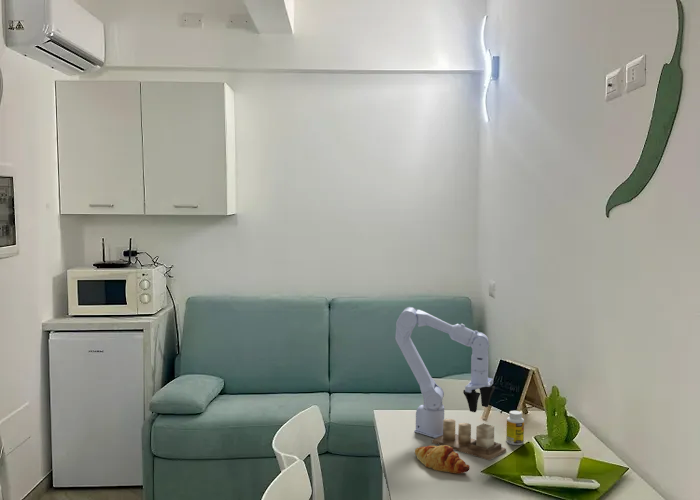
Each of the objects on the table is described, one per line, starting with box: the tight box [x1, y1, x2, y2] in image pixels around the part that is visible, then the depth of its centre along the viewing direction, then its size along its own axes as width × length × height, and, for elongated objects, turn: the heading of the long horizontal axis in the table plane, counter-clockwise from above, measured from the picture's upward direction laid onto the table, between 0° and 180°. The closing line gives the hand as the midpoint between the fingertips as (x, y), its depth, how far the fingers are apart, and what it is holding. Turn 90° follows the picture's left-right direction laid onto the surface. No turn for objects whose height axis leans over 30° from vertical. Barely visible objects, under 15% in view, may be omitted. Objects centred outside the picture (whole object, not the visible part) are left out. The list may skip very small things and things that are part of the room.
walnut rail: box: [431, 418, 507, 461], centre depth 211 cm, size 22×10×7 cm, turn 47°
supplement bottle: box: [505, 410, 525, 446], centre depth 215 cm, size 6×6×10 cm
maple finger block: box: [475, 423, 495, 449], centre depth 207 cm, size 4×4×7 cm
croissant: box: [414, 445, 470, 475], centre depth 196 cm, size 21×10×8 cm, turn 42°
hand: (479, 409), depth 221 cm, fingers open, 7 cm apart
